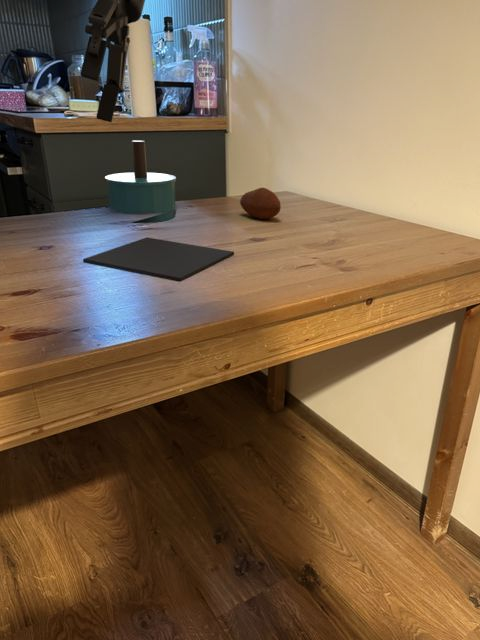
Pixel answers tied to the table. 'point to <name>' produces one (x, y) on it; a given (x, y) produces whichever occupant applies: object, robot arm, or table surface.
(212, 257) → the placemat
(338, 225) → the table surface
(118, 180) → the tin lid
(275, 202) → the potato
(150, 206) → the green round tin
